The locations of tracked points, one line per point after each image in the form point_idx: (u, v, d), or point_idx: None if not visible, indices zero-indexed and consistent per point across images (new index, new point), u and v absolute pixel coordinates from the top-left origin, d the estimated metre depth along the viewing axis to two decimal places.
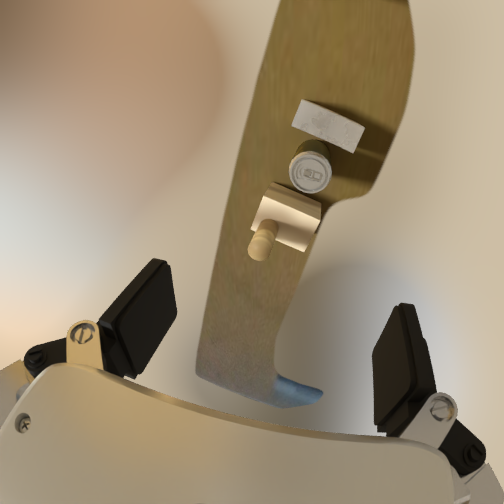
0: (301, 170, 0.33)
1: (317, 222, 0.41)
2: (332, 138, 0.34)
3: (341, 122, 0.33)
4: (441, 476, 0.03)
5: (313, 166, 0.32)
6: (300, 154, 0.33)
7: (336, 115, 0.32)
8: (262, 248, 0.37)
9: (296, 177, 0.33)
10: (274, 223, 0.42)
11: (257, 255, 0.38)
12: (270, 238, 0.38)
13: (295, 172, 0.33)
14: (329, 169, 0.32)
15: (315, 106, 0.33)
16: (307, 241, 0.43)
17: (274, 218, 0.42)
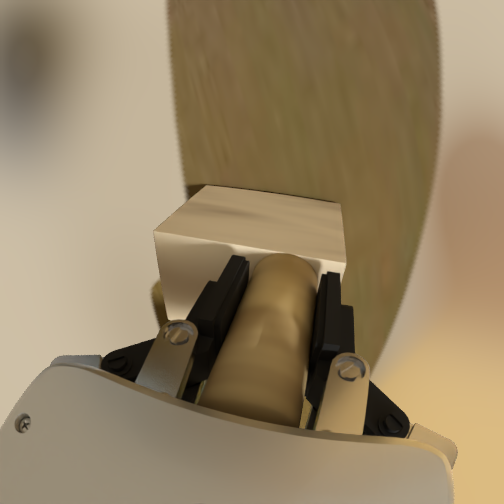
0: None
1: (170, 315, 0.16)
2: None
3: None
4: (441, 476, 0.03)
5: None
6: None
7: None
8: None
9: None
10: None
11: (245, 413, 0.07)
12: None
13: None
14: None
15: None
16: (162, 265, 0.14)
17: None
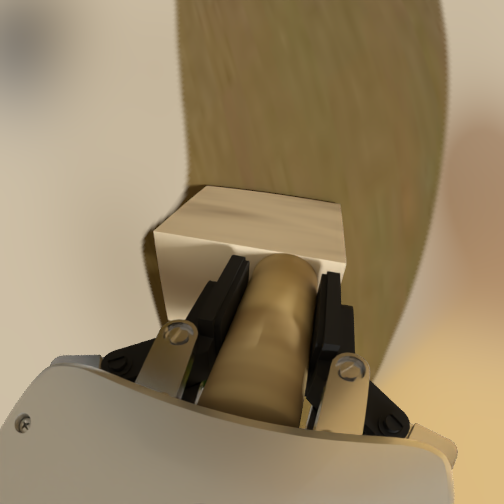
0: None
1: (170, 315, 0.16)
2: None
3: None
4: (441, 476, 0.03)
5: None
6: None
7: None
8: None
9: None
10: None
11: (245, 413, 0.07)
12: None
13: None
14: None
15: None
16: (162, 265, 0.14)
17: None
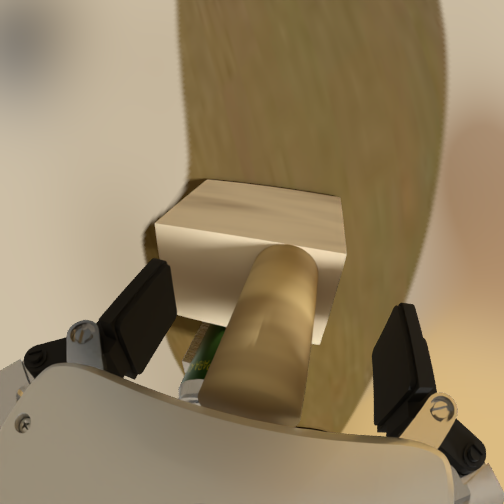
0: None
1: None
2: None
3: None
4: (441, 476, 0.03)
5: None
6: None
7: None
8: None
9: None
10: None
11: (247, 401, 0.07)
12: None
13: None
14: None
15: None
16: (164, 258, 0.14)
17: None
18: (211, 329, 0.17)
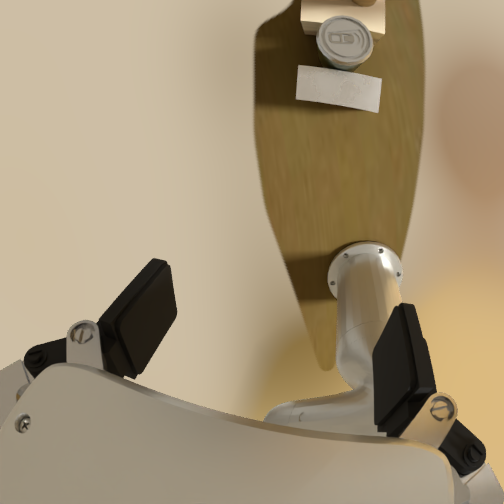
0: (356, 40, 0.18)
1: (303, 17, 0.21)
2: (329, 74, 0.24)
3: (325, 96, 0.26)
4: (441, 476, 0.03)
5: (345, 48, 0.19)
6: (365, 58, 0.19)
7: (333, 102, 0.26)
8: None
9: (360, 30, 0.18)
10: (358, 3, 0.18)
11: None
12: None
13: (364, 36, 0.18)
14: (323, 50, 0.20)
15: (360, 107, 0.25)
16: None
17: (360, 8, 0.19)
18: None
